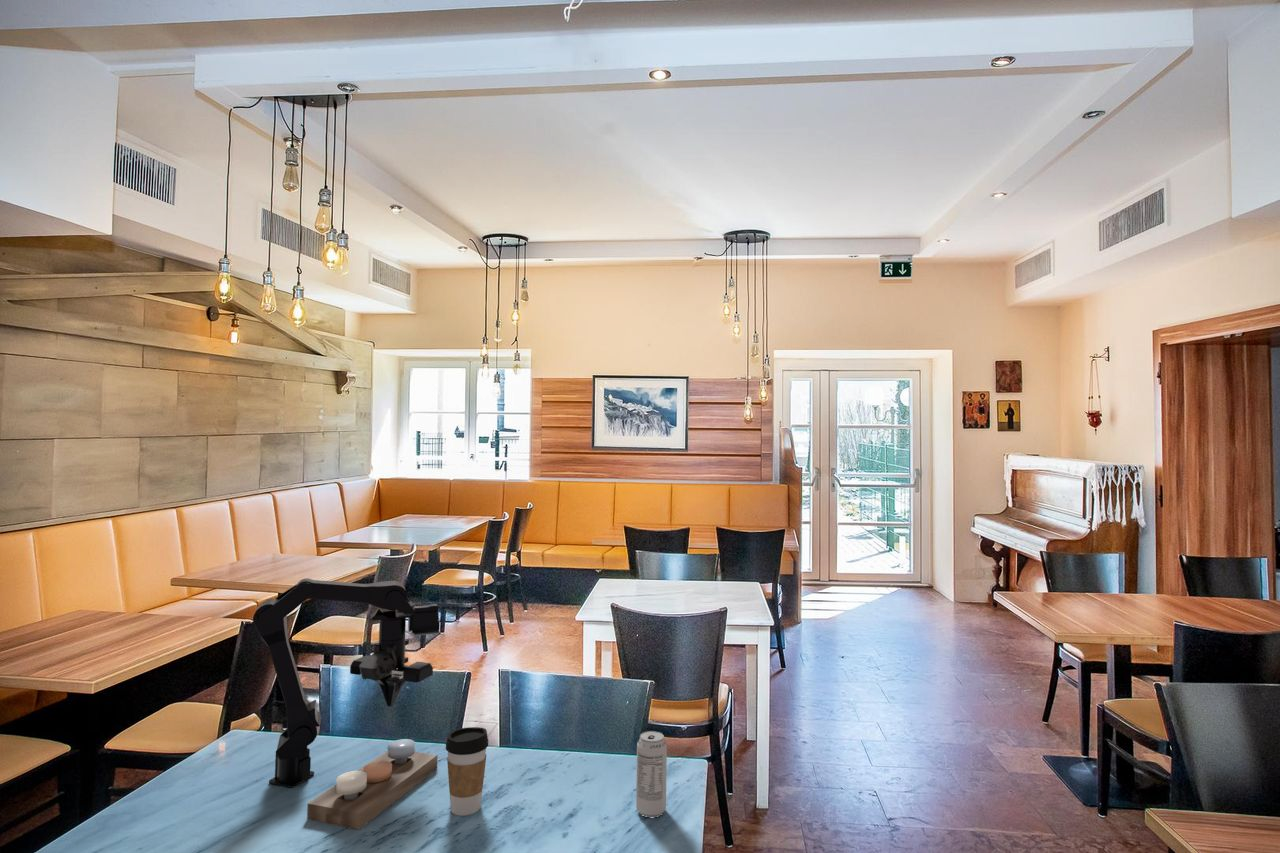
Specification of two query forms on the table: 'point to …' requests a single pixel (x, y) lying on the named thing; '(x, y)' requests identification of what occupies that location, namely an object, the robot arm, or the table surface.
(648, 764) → the energy drink can
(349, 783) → the cream button
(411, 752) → the slate button
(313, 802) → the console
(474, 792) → the coffee cup
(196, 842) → the table surface
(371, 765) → the terracotta button
